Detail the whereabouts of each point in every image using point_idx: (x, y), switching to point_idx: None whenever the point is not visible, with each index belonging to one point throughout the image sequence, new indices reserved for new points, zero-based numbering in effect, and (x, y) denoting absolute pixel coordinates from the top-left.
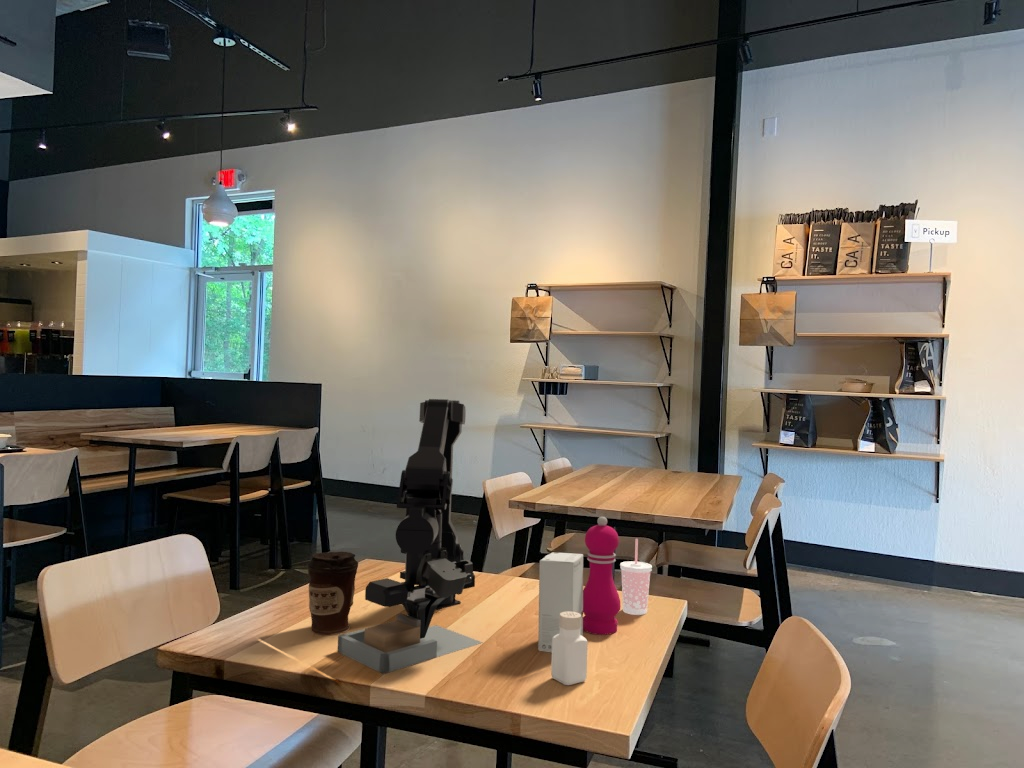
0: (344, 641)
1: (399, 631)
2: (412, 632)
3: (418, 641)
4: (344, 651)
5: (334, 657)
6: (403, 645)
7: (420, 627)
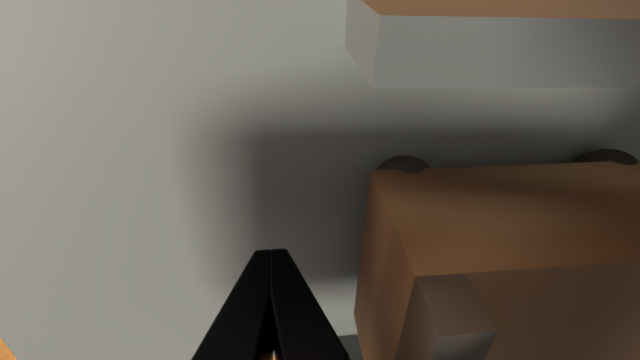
0: None
1: (634, 274)
2: (495, 243)
3: (394, 188)
4: None
5: None
6: (530, 185)
7: (319, 305)
